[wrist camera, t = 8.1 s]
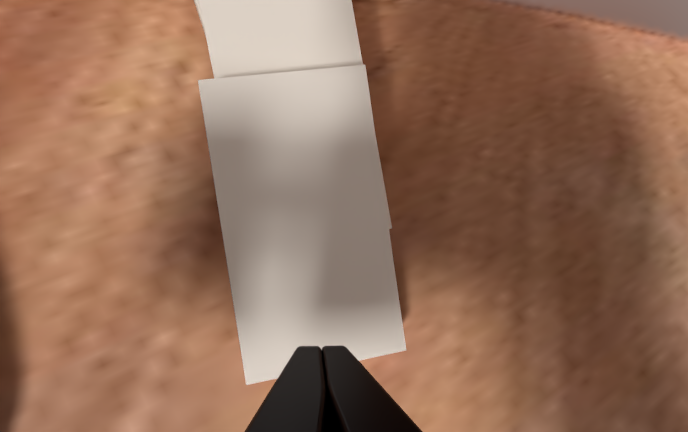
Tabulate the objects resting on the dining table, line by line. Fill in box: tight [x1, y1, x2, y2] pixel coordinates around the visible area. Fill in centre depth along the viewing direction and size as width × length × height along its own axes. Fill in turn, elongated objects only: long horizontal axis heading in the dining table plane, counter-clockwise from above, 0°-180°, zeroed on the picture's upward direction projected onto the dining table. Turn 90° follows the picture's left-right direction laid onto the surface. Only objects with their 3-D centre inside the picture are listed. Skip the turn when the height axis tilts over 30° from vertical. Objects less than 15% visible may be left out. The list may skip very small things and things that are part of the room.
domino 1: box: [198, 65, 406, 385], centre depth 15 cm, size 2×5×9 cm
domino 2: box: [199, 0, 392, 229], centre depth 16 cm, size 2×5×9 cm
